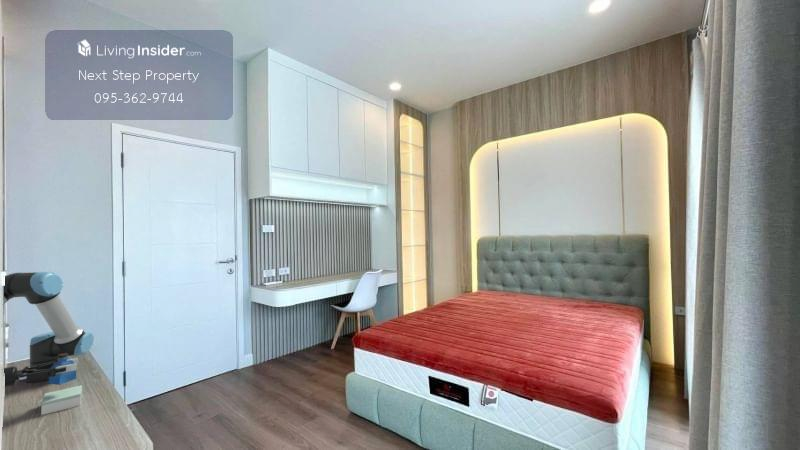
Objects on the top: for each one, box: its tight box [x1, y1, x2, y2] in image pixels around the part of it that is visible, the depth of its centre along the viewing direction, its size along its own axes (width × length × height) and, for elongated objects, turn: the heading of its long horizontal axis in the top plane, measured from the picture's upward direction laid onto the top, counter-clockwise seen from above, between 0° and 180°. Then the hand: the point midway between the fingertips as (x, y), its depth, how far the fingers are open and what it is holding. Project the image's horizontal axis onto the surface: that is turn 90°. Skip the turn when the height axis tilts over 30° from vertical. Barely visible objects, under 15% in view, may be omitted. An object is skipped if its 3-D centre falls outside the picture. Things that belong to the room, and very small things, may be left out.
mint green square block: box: [40, 384, 83, 416], centre depth 150 cm, size 12×12×5 cm
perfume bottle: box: [48, 353, 77, 386], centre depth 150 cm, size 6×6×12 cm
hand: (77, 363), depth 153 cm, fingers closed on perfume bottle, 9 cm apart
